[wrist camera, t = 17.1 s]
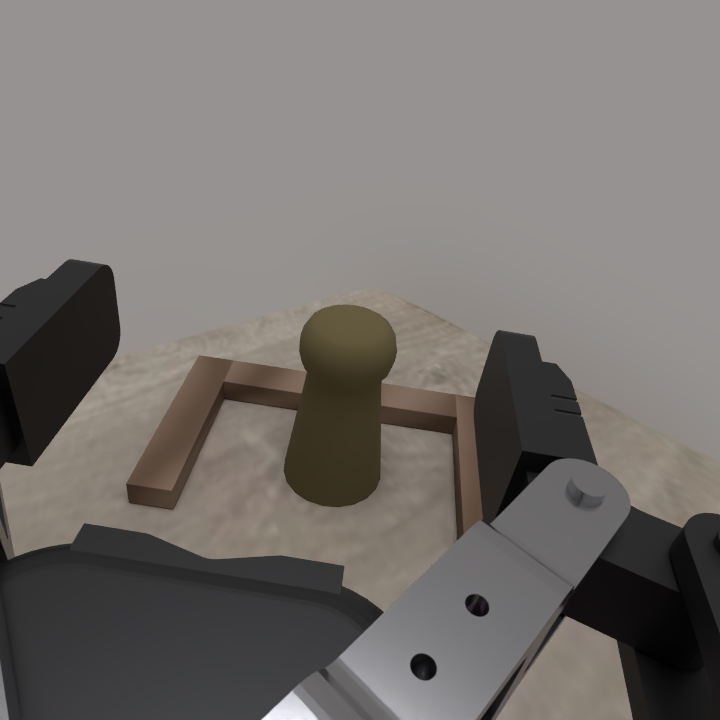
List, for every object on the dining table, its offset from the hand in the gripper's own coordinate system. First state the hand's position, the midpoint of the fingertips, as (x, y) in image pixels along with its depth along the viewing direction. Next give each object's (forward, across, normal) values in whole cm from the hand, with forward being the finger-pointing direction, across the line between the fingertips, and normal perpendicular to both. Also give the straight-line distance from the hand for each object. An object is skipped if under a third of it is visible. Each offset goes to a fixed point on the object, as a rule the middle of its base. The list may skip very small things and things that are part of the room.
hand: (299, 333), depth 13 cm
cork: (+16, -1, +20) cm, 26 cm away
